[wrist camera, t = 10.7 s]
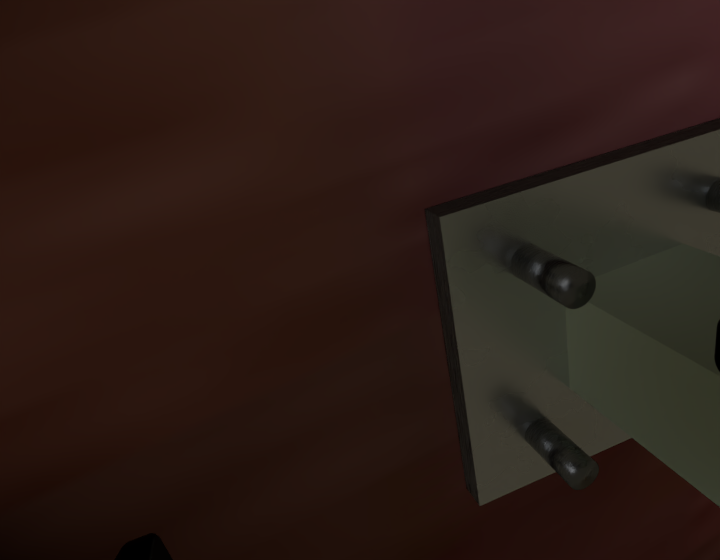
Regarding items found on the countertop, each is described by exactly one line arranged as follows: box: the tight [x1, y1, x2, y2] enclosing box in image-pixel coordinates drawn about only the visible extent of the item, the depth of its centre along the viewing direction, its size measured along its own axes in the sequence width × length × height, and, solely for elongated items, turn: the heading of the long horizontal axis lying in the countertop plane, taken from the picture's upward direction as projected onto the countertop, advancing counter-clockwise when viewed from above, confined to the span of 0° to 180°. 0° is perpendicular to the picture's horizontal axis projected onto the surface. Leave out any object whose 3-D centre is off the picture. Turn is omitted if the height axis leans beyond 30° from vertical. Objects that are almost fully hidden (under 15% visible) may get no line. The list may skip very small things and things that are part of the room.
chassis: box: [425, 118, 720, 506], centre depth 24 cm, size 16×14×4 cm
